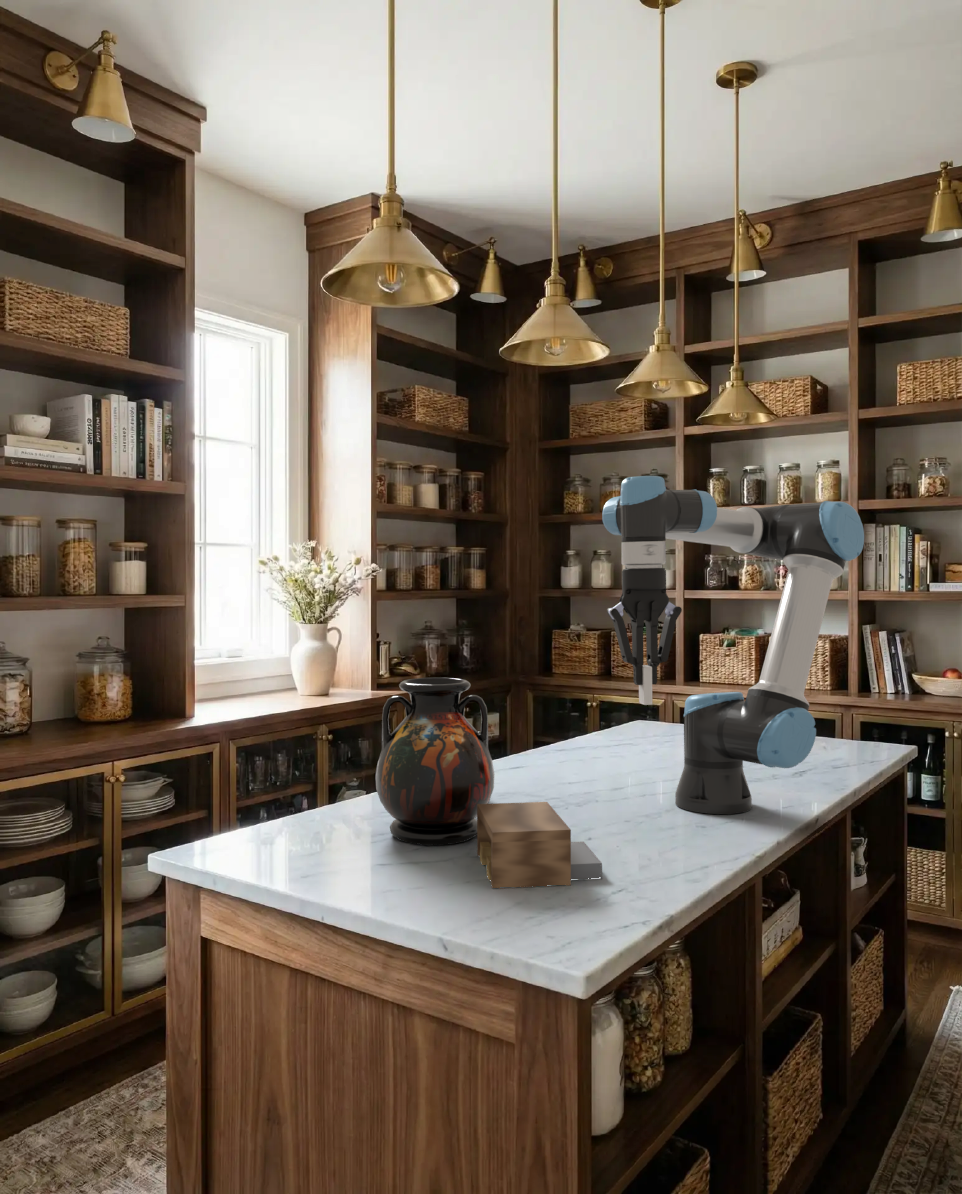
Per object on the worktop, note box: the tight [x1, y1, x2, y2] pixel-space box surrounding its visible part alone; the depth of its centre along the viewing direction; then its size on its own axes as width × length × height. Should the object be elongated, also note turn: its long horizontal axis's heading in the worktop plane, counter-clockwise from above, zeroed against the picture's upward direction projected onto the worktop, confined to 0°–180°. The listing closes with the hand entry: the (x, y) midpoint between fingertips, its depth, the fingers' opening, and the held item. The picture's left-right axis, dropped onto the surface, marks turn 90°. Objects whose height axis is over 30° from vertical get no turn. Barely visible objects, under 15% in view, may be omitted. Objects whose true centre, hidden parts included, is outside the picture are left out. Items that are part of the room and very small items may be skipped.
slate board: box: [571, 841, 603, 879], centre depth 154 cm, size 16×12×3 cm
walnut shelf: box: [476, 801, 572, 889], centre depth 154 cm, size 12×18×8 cm, turn 8°
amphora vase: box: [375, 677, 495, 846], centre depth 174 cm, size 22×22×28 cm
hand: (645, 703), depth 165 cm, fingers closed
